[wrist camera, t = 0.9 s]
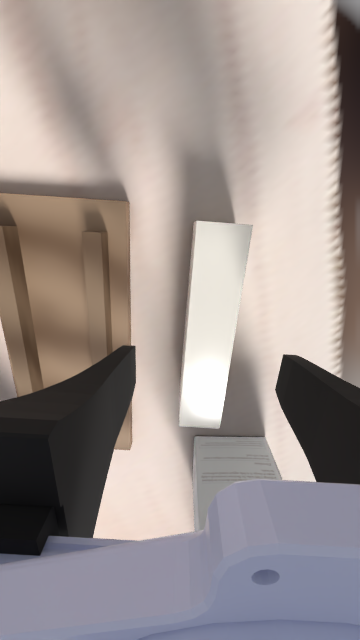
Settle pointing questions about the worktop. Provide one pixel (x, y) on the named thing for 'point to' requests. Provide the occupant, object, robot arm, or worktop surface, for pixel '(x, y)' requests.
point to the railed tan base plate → (64, 288)
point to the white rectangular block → (211, 319)
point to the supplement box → (227, 468)
